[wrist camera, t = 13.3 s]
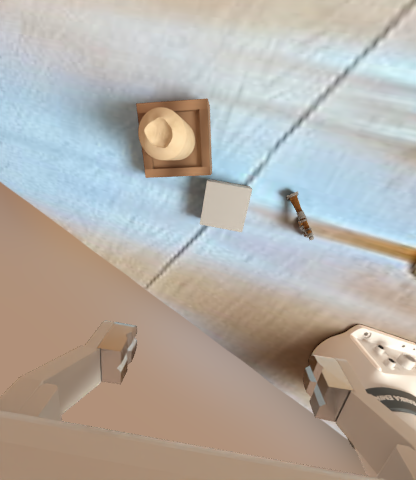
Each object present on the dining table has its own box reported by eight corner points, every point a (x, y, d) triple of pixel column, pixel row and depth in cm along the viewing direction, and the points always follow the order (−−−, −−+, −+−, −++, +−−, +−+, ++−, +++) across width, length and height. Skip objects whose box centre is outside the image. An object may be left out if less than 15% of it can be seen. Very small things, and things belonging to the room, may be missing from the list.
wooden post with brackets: (302, 242, 40) (307, 241, 35) (284, 201, 41) (287, 195, 37) (313, 239, 39) (319, 237, 35) (294, 197, 40) (298, 190, 36)
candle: (155, 153, 35) (129, 151, 25) (163, 114, 33) (138, 96, 23) (190, 165, 35) (176, 166, 25) (200, 126, 33) (189, 113, 24)
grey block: (249, 186, 38) (252, 189, 35) (240, 225, 41) (242, 232, 37) (208, 178, 39) (206, 180, 35) (202, 218, 41) (199, 224, 37)
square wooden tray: (209, 105, 35) (207, 98, 31) (212, 173, 38) (210, 174, 34) (145, 109, 36) (136, 103, 32) (153, 175, 39) (145, 177, 35)
